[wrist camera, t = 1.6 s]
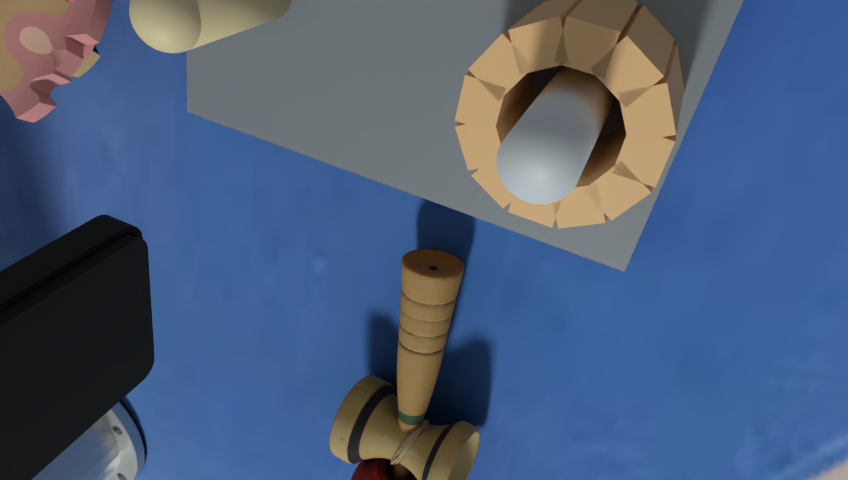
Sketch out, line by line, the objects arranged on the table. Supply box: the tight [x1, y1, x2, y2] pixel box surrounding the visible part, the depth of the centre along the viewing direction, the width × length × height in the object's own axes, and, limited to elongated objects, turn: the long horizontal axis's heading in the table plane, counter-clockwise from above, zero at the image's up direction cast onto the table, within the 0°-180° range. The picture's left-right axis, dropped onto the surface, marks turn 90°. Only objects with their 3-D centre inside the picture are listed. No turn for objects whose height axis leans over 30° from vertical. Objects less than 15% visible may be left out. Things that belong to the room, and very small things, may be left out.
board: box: [129, 0, 743, 272], centre depth 24 cm, size 14×22×9 cm, turn 79°
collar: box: [455, 0, 684, 229], centre depth 23 cm, size 7×7×5 cm
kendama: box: [330, 249, 480, 480], centre depth 35 cm, size 8×6×18 cm
